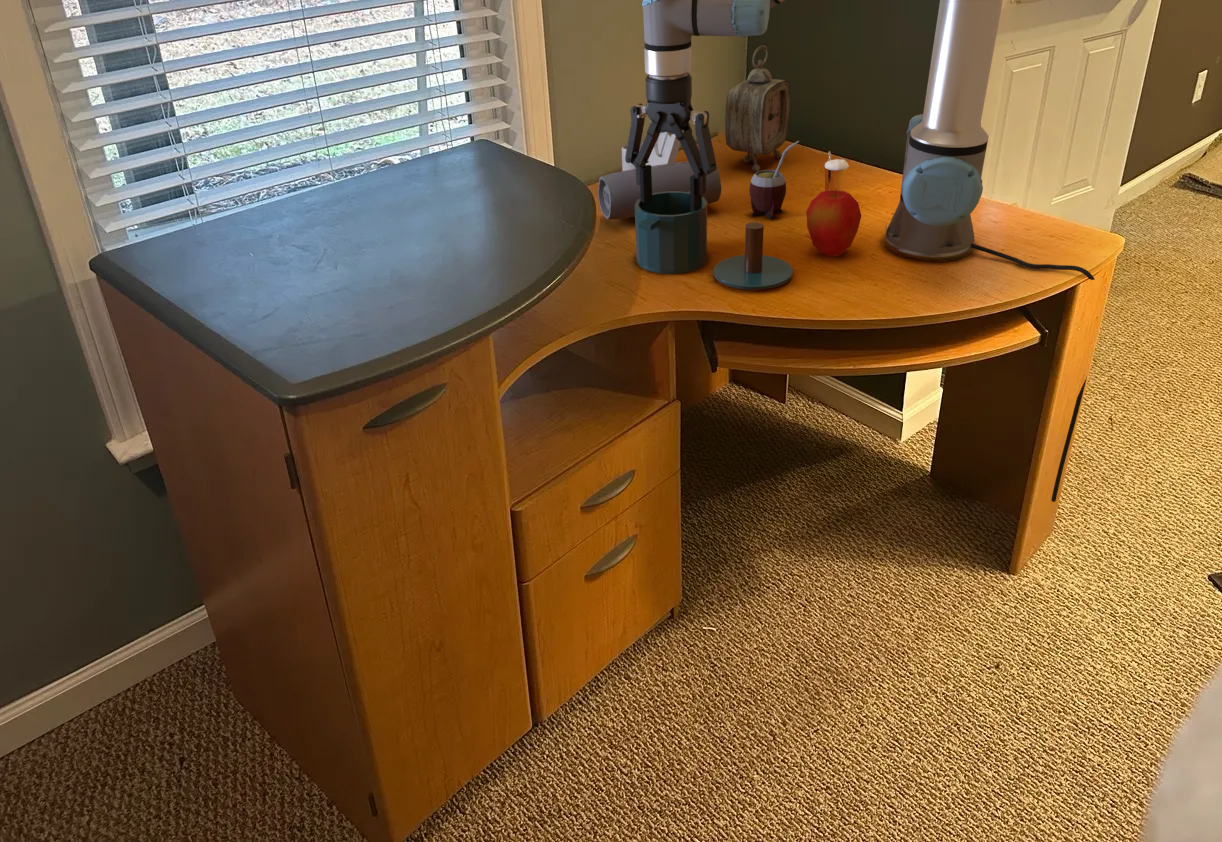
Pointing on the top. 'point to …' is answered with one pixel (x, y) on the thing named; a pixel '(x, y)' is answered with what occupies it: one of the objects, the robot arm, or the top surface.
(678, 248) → the pot
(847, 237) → the apple
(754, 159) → the tabletop clock
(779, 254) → the top surface
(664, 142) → the phone holder
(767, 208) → the mate gourd
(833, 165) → the milkshake
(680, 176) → the bluetooth speaker
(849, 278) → the top surface
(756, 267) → the lid
